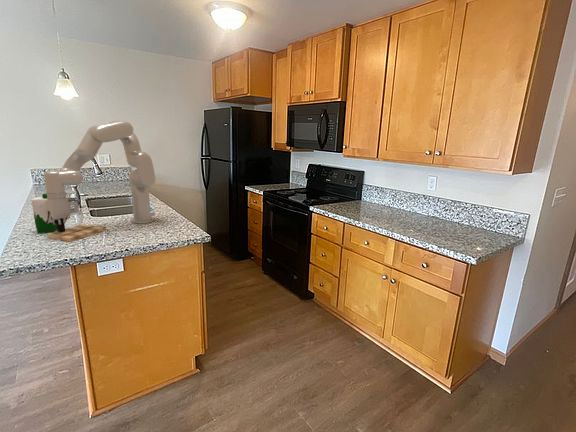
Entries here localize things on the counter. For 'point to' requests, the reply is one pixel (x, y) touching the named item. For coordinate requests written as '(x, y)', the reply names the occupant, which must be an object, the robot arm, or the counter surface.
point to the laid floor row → (82, 233)
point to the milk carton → (42, 216)
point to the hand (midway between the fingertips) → (61, 231)
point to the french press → (75, 203)
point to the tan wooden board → (67, 231)
